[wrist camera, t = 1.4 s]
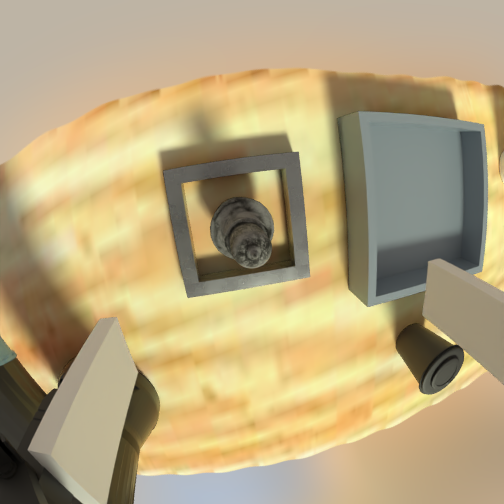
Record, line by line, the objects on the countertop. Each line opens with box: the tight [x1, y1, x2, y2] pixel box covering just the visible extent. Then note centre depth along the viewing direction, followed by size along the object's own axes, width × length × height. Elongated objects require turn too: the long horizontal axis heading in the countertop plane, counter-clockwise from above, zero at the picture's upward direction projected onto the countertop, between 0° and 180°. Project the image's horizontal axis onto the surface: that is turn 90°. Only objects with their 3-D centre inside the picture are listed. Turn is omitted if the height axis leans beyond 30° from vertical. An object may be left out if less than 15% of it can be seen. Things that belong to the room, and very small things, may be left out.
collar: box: [163, 152, 310, 298], centre depth 29 cm, size 13×13×2 cm
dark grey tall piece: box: [210, 197, 274, 268], centre depth 25 cm, size 6×6×12 cm
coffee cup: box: [396, 324, 464, 394], centre depth 34 cm, size 8×8×10 cm
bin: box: [337, 111, 488, 307], centre depth 30 cm, size 20×20×5 cm
